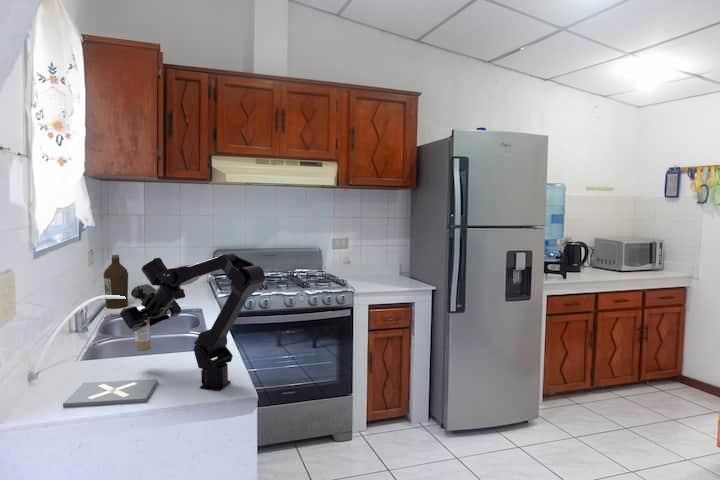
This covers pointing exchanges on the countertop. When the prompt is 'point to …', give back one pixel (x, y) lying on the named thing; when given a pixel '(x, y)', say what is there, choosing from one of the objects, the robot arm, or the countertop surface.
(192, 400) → the countertop surface
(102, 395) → the board
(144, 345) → the sprinkles bottle
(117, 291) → the olive oil
